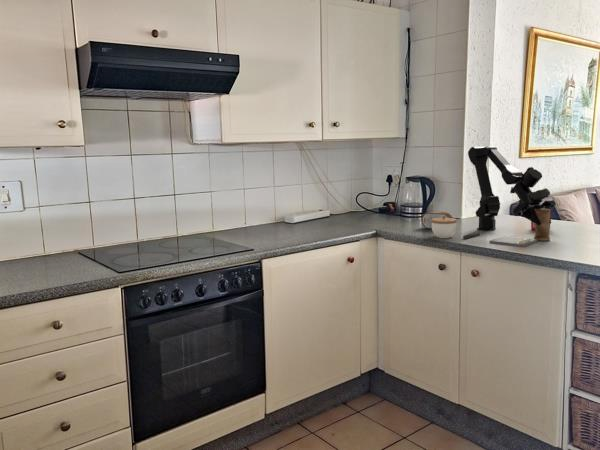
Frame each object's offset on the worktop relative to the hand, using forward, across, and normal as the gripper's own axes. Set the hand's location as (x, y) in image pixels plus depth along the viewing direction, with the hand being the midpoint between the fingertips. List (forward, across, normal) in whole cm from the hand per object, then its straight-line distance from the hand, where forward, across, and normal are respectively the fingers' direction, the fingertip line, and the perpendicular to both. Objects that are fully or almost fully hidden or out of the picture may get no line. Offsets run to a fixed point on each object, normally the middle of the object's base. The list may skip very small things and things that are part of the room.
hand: (545, 224), depth 218 cm
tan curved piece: (-28, -18, +38) cm, 51 cm away
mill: (+4, 0, +6) cm, 7 cm away
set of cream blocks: (+6, -13, +3) cm, 14 cm away
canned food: (-9, +19, +19) cm, 28 cm away
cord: (-10, -19, +20) cm, 30 cm away
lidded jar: (-15, -28, +26) cm, 41 cm away
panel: (+2, -13, +7) cm, 15 cm away
